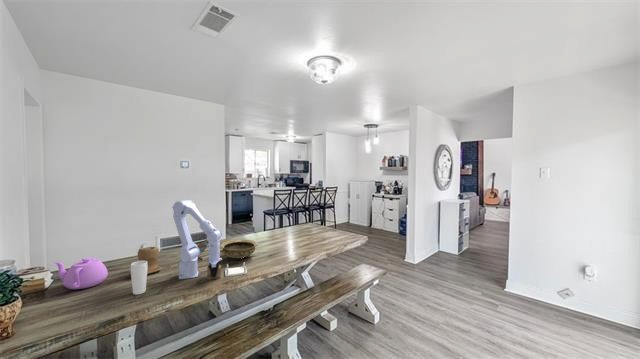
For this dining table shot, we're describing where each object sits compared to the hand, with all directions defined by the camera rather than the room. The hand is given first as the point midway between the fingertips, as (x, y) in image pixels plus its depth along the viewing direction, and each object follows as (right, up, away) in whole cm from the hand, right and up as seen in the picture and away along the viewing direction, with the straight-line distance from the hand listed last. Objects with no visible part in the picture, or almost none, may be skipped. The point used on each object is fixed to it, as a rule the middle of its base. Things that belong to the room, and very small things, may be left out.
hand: (214, 275), depth 141 cm
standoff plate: (+10, -1, +8) cm, 13 cm away
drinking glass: (-29, -2, -19) cm, 35 cm away
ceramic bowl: (+4, -1, +32) cm, 33 cm away
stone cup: (-42, -1, +4) cm, 43 cm away
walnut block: (0, -1, 0) cm, 1 cm away
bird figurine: (-23, 0, +25) cm, 34 cm away
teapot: (-65, -1, -12) cm, 66 cm away
